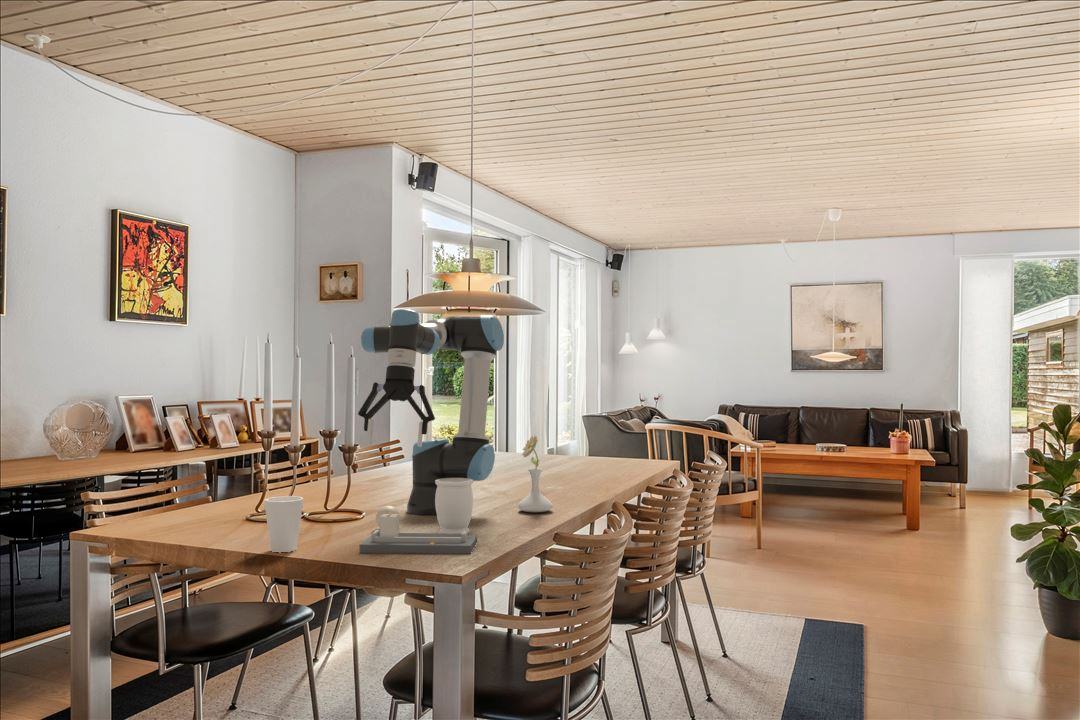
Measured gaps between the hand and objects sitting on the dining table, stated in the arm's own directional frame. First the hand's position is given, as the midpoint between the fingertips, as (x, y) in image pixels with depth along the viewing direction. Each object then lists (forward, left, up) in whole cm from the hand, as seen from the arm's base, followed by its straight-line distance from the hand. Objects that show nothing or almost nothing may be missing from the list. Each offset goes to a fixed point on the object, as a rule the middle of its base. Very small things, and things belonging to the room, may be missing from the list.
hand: (394, 445), depth 214 cm
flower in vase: (-48, +35, -26) cm, 65 cm away
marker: (+6, +12, -24) cm, 27 cm away
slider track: (+6, +8, -26) cm, 28 cm away
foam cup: (+10, -26, -26) cm, 38 cm away
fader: (+6, 0, -23) cm, 24 cm away
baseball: (-18, -6, -26) cm, 32 cm away
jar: (-13, +14, -26) cm, 32 cm away
